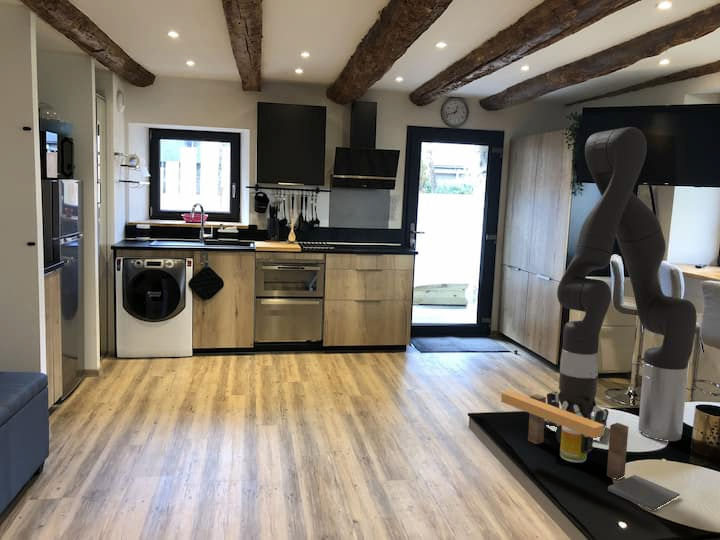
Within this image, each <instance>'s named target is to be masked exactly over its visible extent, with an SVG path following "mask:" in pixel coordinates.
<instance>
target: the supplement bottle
mask: <svg viewBox="0 0 720 540" xmlns="http://www.w3.org/2000/svg"><path fill="white" fill-rule="evenodd" d="M582 436H584V435H583V434H582V433H579V432H576V431H574V430H571V429H569V428H566V427H564V426H562V429H561V443H560V447H559V456H560V457H561V459H563V460H564V461H567V462H570V463H578V464H579V463H581V464H582V463H584V462H586V460H587V455H588V453H586V454H585V453H582V452H581V448H582Z"/></svg>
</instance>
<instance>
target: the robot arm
mask: <svg viewBox="0 0 720 540" xmlns="http://www.w3.org/2000/svg"><path fill="white" fill-rule="evenodd" d="M647 143H648V142H647V138H646V136H645V134H644V133H643V132H642V130H641V129H639V128H637V127H633V126H627V127H620V128H615V129H610V130H605V131H598V132H595V133H593V134H591V135H590V136H589V137H588V138H587V140H586V142H585V146H584V155H585V161H586V165H587V167H588V170H589V172H590V175H591V176H592V178H593V181H594V182H595V185H596V187H597V189H598V191H599V194H600V196H601V197H600V198H599V200H598V201H597V202H596V204H595V205H594V207H593V208H592V209H591V211H590V212H589V213H588V214H587V215H586V218H585V219H584V221H583V224H582V226H581V227H580V232H579V236H578V240H577V245H576V249H575V253H574V255H573V257H572V259H571V260H570V263H569V264H568V266H567V269H565V272H564V274H563V275H562V277H561V279H560V280H559V283H558V286H557V291H556V297H557V300H558V302H559V305H561V307H563V309H564V308H565V309H568V310H571V311H572V310H574V311H578V312H585V315H584V317H583V319H582V320H572V321H568V322H566V323H565V325H564V327H563V332H562V333H563V335H562V336H563V337H562V348H561V349H562V350H561V355H560V364H559V366H560V367H559V377H558V378H559V379H558V382H559V383H558V390H559V392H557V391H554V392H552V391H551V392H550V393H547V394H546V401H547V403H546V404H549V405H551V406H554V407H557V408H560V405H561V408H560V409H562V410H565V411H568V412H570V413H573V414H576V415H579V416H581V417H584V418H587V419H589V420H592V421H595V422H598V423H600V424H603V425H605V424H606V425H607V423H606V422H607V420H608V417H609V410H608V408H607V409H606V408H604V409H603V408H601V407H599V406H597V403H596V399H595V398H596V395H597V389H598V376H599V342H600V333H601V329H602V327H603V324H604V320H605V318H606V314H607V312H608V310H609V308H610V304H611V300H612V291H611V288H610V286H609V285H608V283H607V282H606V281H605V280H602V279H597V278H589V277H587V276H588V275H589V273H591V272H592V271H597V270H603V269H606V268H607V267H608V266H609V265H610V262H611V258H612V254H613V250H614V246H615V242H616V240H617V243H618V247H619V250H620V252H621V254H622V257H623V260H624V264H625V267H626V269H627V274H628V276H629V280H630V283H631V286H632V290H633V296H634V302H635V306H636V311H637V315H638V318H639V322H640V323H641V325H642V326H643V328H644V329H645V330H646V331H648V332H650V333H653V334H656V335H661V336H663V339H662V344H661V346H658V347H657V346H656V347H650V348H647V349H645V350H644V353H643V363H642V364H643V365H642V377H641V378H642V379H641V389H640V390H641V391H640V400H639V401H640V402H639V414H638V415H639V416H638V424H637V425H638V427H637V430H638V429H639V431H641V432H642V433H644V434H645V435H648V436H650V437H653V438H657V439H662V440H668V441H667V442H675V441H680V440H682V435H683V426H684V416H685V415H684V414H685V406H686V405H685V404H686V390H687V389H686V387H687V379H688V378H687V377H688V367H689V366H688V364H689V360H690V358H691V356H692V353H693V347H694V342H695V341H694V340H695V333H696V327H697V321H698V320H697V318H698V317H697V310H696V307H695V305H694V304H693V303H692V302H691V301H690V300H688V299H684V298H678V297H673V296H667V295H666V294H664V293H663V290H662V288H661V285H660V281H659V275H658V273H659V269H660V267H661V264H662V262H663V259H664V257H665V254H666V245H667V244H666V241H665V237H664V234H663V230H662V227H661V224H660V222H659V219H658V217H657V216H656V214H655V213H654V212H653V211H652V210H651V208H649V206H648V205H646V203H644V201H642V199H640V198H639V197H638V196H637V195H636V194H635V193H634V191H633V190H634V188H635V185H636V184H637V181H638V178H639V177H640V174H641V171H642V168H643V166H644V162H645V160H646V156H647V151H648V145H647ZM592 416H593V417H595V420H593V417H592ZM556 425H557V430H556V432H555V433H556V435H555V437H556V439H557V443H559V444H561V429H562V426H561V425H559V424H556ZM604 428H605V426H604ZM639 431H638V432H639ZM583 435H584V434H583ZM645 435H644V436H645ZM662 440H661V441H662ZM593 444H594V440H593V438H592V437H589V436H587V435H584V436H582V448H581V452H582V453H585V454H586V453H587V454H589V453H590V452H591V451H592V450H593V448H594V447H593V446H594V445H593Z"/></svg>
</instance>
